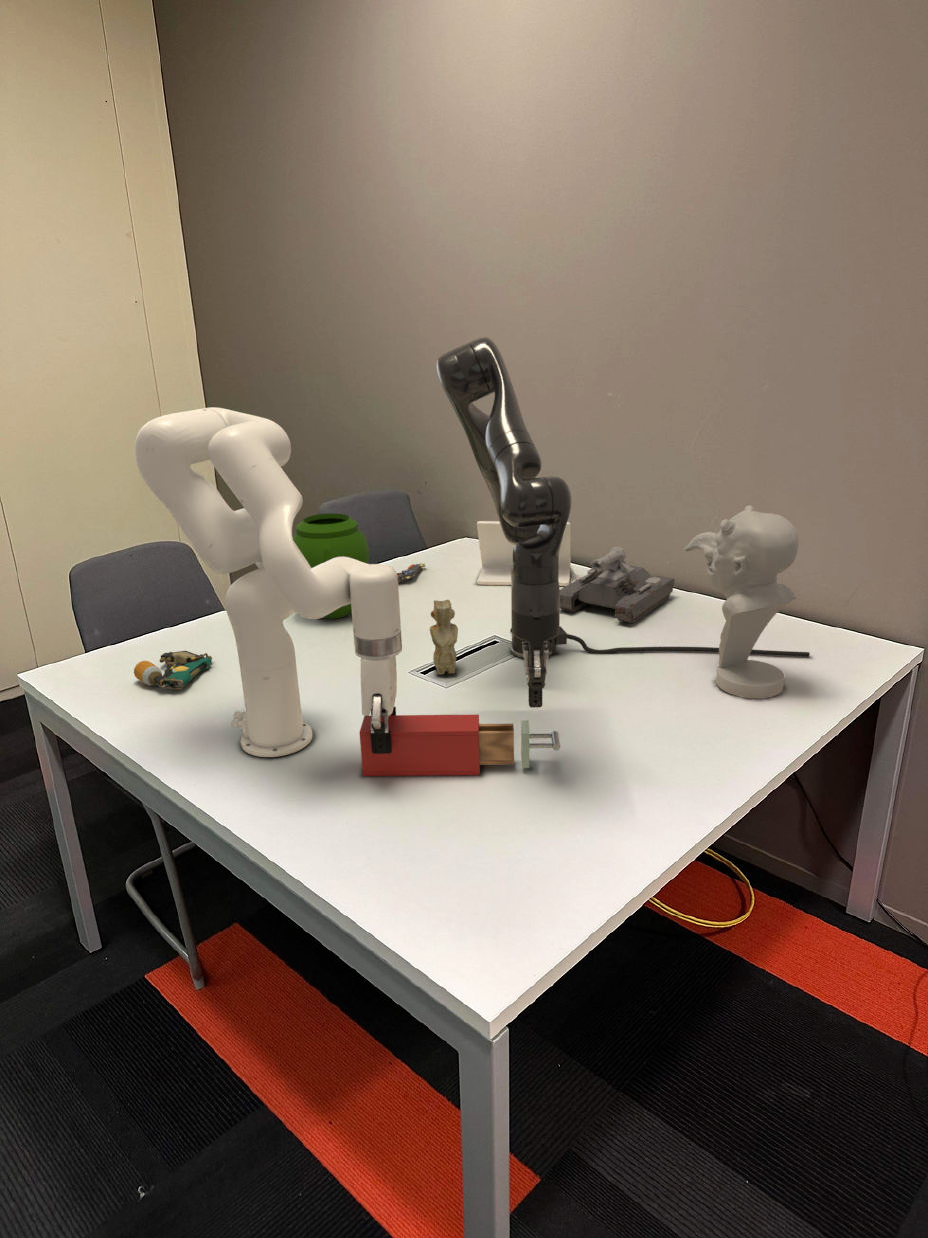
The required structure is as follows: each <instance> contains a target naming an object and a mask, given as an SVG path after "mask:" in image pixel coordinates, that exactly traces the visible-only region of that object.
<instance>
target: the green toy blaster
mask: <svg viewBox="0 0 928 1238" xmlns="http://www.w3.org/2000/svg"><path fill="white" fill-rule="evenodd" d="M212 660H213V657H212V656H211V655H208V653H207V652H205V653H201V654H197V653H194V652H192V651H191V652H190V651H188V650H180V651H169V652H164V653H162V654H161V655H160V658H159V660H158V662H159V663H161V664H163V663H165V664H166V668H165V670H163V672H164V674H163V673H162V669H160V668H159V666H157V665H156V664H154V663H152V662H151V661H149V660H141V661H139V662H138V663H136V665H135V666H134V668H133V675H134V677H135V678H136V679H137V680H139V681H140V682H142V683H143V684H145V685H147V686H155V685H157V686H158V687H160V688H161V689H171V690H172V689H173V690H182V689H184V687H185V686H186V685H188V684H189V683H190V682H191V681H192V679H193V678H195V677H196V676H197V675H198V674H200V673H201V672H202V671H203V670H206V669H208V668H209V667H210V666H211V665H212V662H213V661H212ZM178 663H179V664H181V665H179V666H176V665H177V664H178Z"/></svg>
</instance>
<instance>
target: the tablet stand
mask: <svg viewBox="0 0 928 1238" xmlns="http://www.w3.org/2000/svg"><path fill="white" fill-rule="evenodd" d="M476 531H477V537H478V544H479V551H480V557H481V558H480V559H481V570H480V573H479V575H478V577H477V580H476V581H477V582H476V584H478V585H484V586H485V585H486V586H487V585H489V586H490V585H491V586H511V567H512V565H513V547H514V545H513V544H511V543H509V542H508V541H507V540H506V538H505V536H504V534H503V531H502V528H501V525H500V521H499V520H477V522H476ZM571 560H572V558H571V522H569V521H567V524H566V528H565V531H564V534H563V538H562V542H561V546H560V550H559V573H558V580H559V587H566V586H567V585H569V584H570V580H571V579H570V578H571V565H572V564H571Z"/></svg>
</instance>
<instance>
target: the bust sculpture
mask: <svg viewBox="0 0 928 1238" xmlns="http://www.w3.org/2000/svg"><path fill="white" fill-rule="evenodd" d="M719 528H720V529H719V531H718V532H713V531H705V532H701V533H699V534H697V535H695V536H694V537H693V538H692V539H691V541H690V542H689V543H688V544H687V545H686V546H685V547H684V551H685V552H692V551H696V550H702V551H703V553H704V557H705V559H706V560H707V561H708V562H707V563H706V564H705V570H706V573H707V576H708V577H709V580H710V581H711V583H712V586H714V588H715V589H717V591H719V592H720V593H721V594H722V595H723V596H724V597H726V600H725V601H724V602H723V604H722V606H721V611H722V615H723V617H724V619H725V622H724V625H723V627H722V631H721V633H720V642H719V645H718V646H719V647H718V648H719V652H718V666H717V668H716V675H715V684H716V685H717V687H718V688H720V690H722V691H723V692H726V693H728V694H731V695H733V696H737V697H740V698H741V697H742V698H748V699H766V698H771V697H775V696H778V695H779V694H781V693H782V692H783V690H784V686H785V685H784V684H785V673H784V672H783V670H782V669H780V668H779V667H777V666H775V665H773V664H771V663H768V662H765V661H760V660H754V659H749V657H750V655H751V654H750V653H751V651H752V649H753V650H754V647H755V645H756V643H757V642H758V640H759V638H760V637H761V634H762V633H763V632H764V631H765V628H766V627H768V624H769V623H770V622H771V620H772V619H773V618H774V617H775V616H776V615H777V614H778V613H779V612H780V611H781V610H782V609H783V608H784V607H786V606H787V605H788V604H790V603H791V602H792V601H795V600H797V599H798V597H797V595H796V594H795V592H794V591H793V590H792V588H791V587H789V586H788V585H786V584H782V583H779V582H778V581H777V580H778V576H777V575H779V574H781V573H783V572H785V571H786V570H788V569H789V568H790V567H791V566H792V565H793V563H794V562H795V560H796V558H797V556H798V551H799V535H798V532H797V530H796V527H795V525H793V524H792V522H791V521H790V520H789V519H787V518H786V517H784V516H783V515H781V514H777V513H770V512H760V511H756V510H755V508H754V506H753V505H746V506H745V507H744V509H743V510H742V511H740V512H739V513H737V514H735V515H733V516H732V517H731V518H730V519H728V518H725V519H723V520H721V521H720V525H719Z"/></svg>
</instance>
